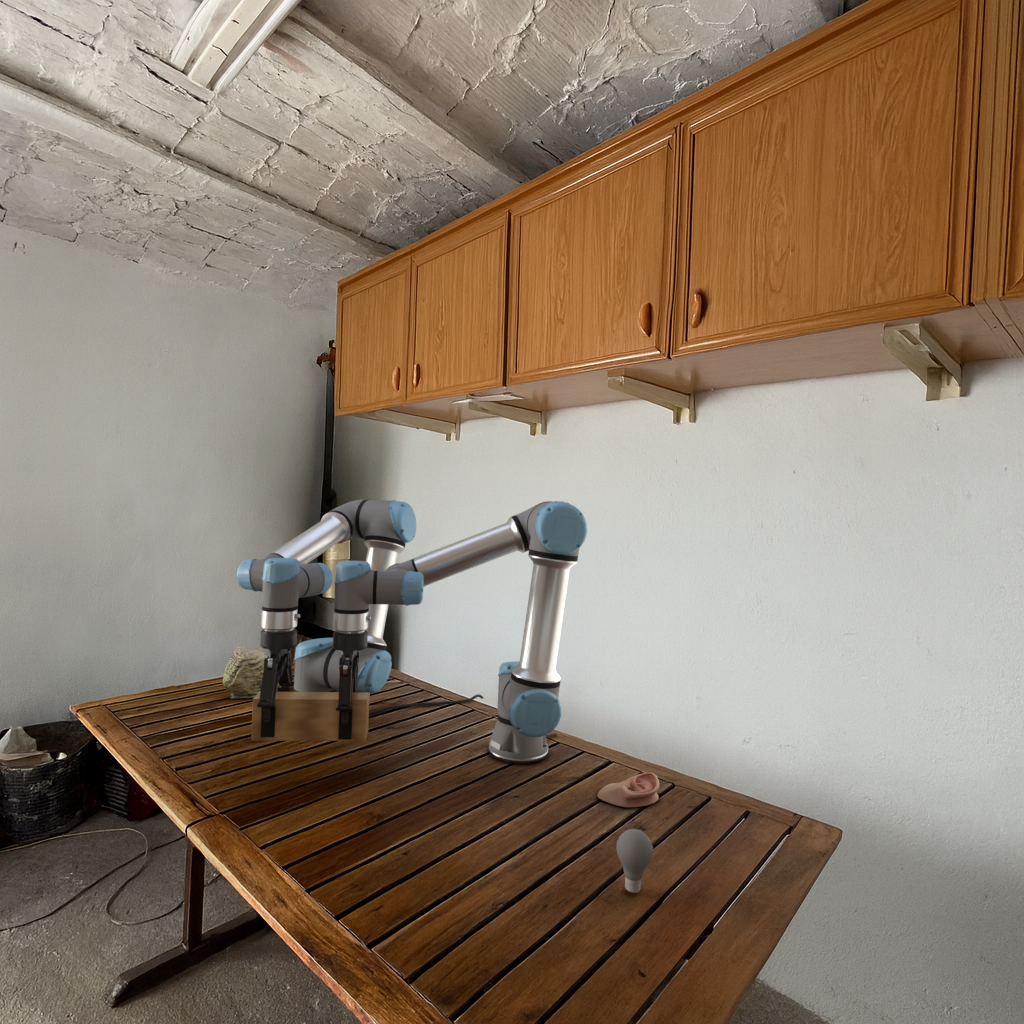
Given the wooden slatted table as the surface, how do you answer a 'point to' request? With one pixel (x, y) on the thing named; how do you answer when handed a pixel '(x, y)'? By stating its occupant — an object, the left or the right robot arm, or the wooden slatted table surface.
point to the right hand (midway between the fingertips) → (346, 733)
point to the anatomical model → (632, 791)
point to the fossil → (244, 672)
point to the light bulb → (634, 857)
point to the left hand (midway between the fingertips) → (275, 725)
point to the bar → (312, 717)
